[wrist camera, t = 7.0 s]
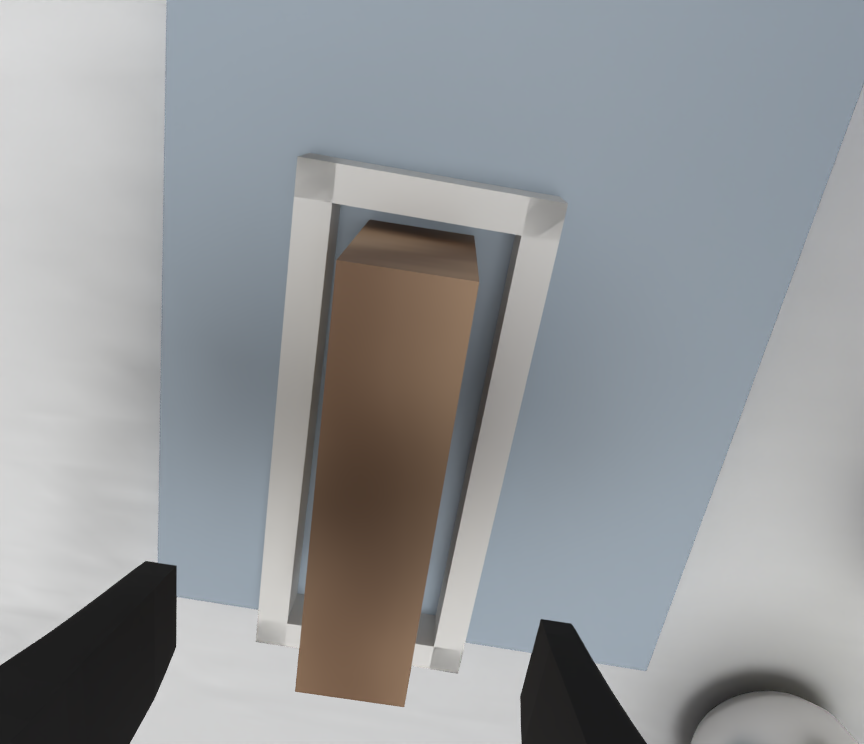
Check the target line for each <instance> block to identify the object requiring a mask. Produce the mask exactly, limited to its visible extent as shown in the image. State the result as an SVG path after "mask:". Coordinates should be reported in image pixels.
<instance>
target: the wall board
mask: <svg viewBox="0 0 864 744" xmlns="http://www.w3.org/2000/svg"><path fill="white" fill-rule="evenodd" d="M863 84H864V0H167V16H166V79H165V142H164V205H163V268H162V331H161V394H160V457H159V520H158V563H162V564H169V565H176V566H177V597H181V598H188V599H194V600H200V601H207V602H213V603H219V604H226V605H232V606H238V607H244V608H251V609H257V610H258V621H257V632H256V642H260V643H267V644H273V645H280V646H286V647H292V648H299V647H300V636H301V626H302V615H303V605H304V594H305V584H306V573H307V563H308V552H309V542H310V531H311V521H312V510H313V500H314V489H315V479H316V468H317V458H318V447H319V437H320V426H321V416H322V405H323V395H324V384H325V374H326V363H327V353H328V342H329V332H330V321H331V311H332V300H333V290H334V279H335V269H336V260H337V259H338V257H339V256H340V255H341V254H342V252H343V251H344V250H345V249H346V248H347V246H348V245H349V244H350V243H351V242H352V240H353V239H354V238H355V237H356V235H357V234H358V233H359V232H360V231H361V229H362V228H363V227H364V226H365V224H366V223H367V222H368V221H369V220H377V221H383V222H390V223H396V224H402V225H409V226H415V227H422V228H428V229H435V230H441V231H448V232H454V233H460V234H467V235H473V236H474V238H475V247H476V256H477V265H478V274H479V287H478V293H477V298H476V304H475V310H474V315H473V321H472V326H471V332H470V338H469V343H468V349H467V355H466V360H465V366H464V372H463V377H462V383H461V389H460V394H459V400H458V406H457V411H456V417H455V422H454V428H453V434H452V439H451V445H450V451H449V456H448V462H447V468H446V473H445V479H444V485H443V490H442V496H441V502H440V507H439V513H438V518H437V524H436V530H435V535H434V541H433V547H432V552H431V558H430V564H429V569H428V575H427V581H426V586H425V592H424V598H423V603H422V609H421V614H420V620H419V626H418V631H417V637H416V643H415V648H414V654H413V660H412V665H411V666H413V667H420V668H426V669H432V670H439V671H445V672H451V673H458V671H459V667H460V663H461V658H462V654H463V650H464V646H465V642H466V643H472V644H478V645H485V646H491V647H497V648H504V649H510V650H516V651H523V652H529V653H532V650H533V647H534V643H535V639H536V635H537V631H538V628H539V624H540V620H541V619H544V620H551V621H558V622H565V623H571V624H572V625H573V626H574V628H575V629H576V631H577V633H578V635H579V636H580V638H581V640H582V642H583V643H584V645H585V647H586V649H587V650H588V652H589V654H590V656H591V657H592V659H593V661H594V662H595V663H598V664H605V665H611V666H617V667H624V668H630V669H636V670H643V671H646V670H647V667H648V665H649V662H650V659H651V657H652V654H653V651H654V649H655V646H656V643H657V640H658V638H659V635H660V632H661V630H662V627H663V624H664V622H665V619H666V616H667V613H668V611H669V608H670V605H671V603H672V600H673V597H674V595H675V592H676V589H677V586H678V584H679V581H680V578H681V576H682V573H683V570H684V568H685V565H686V562H687V559H688V557H689V554H690V551H691V549H692V546H693V543H694V541H695V538H696V535H697V532H698V530H699V527H700V524H701V522H702V519H703V516H704V514H705V511H706V508H707V505H708V503H709V500H710V497H711V495H712V492H713V489H714V487H715V484H716V481H717V478H718V476H719V473H720V470H721V468H722V465H723V462H724V460H725V457H726V454H727V451H728V449H729V446H730V443H731V441H732V438H733V435H734V433H735V430H736V427H737V424H738V422H739V419H740V416H741V414H742V411H743V408H744V406H745V403H746V400H747V397H748V395H749V392H750V389H751V387H752V384H753V381H754V379H755V376H756V373H757V370H758V368H759V365H760V362H761V360H762V357H763V354H764V352H765V349H766V346H767V343H768V341H769V338H770V335H771V333H772V330H773V327H774V325H775V322H776V319H777V316H778V314H779V311H780V308H781V306H782V303H783V300H784V298H785V295H786V292H787V289H788V287H789V284H790V281H791V279H792V276H793V273H794V271H795V268H796V265H797V262H798V260H799V257H800V254H801V252H802V249H803V246H804V243H805V241H806V238H807V235H808V233H809V230H810V227H811V225H812V222H813V219H814V216H815V214H816V211H817V208H818V206H819V203H820V200H821V198H822V195H823V192H824V189H825V187H826V184H827V181H828V179H829V176H830V173H831V171H832V168H833V165H834V162H835V160H836V157H837V154H838V152H839V149H840V146H841V144H842V141H843V138H844V135H845V133H846V130H847V127H848V125H849V122H850V119H851V117H852V114H853V111H854V108H855V106H856V103H857V100H858V98H859V95H860V92H861V90H862V87H863Z"/></svg>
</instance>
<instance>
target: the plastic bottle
mask: <svg viewBox="0 0 864 744" xmlns="http://www.w3.org/2000/svg"><path fill="white" fill-rule="evenodd" d="M691 744H859V743H858V742H857V741H856V740H855V739H854V738H853V737H852V735H851V734H850V733H849V732H848V731H847V730H846V729H845V727H844V726H843V725H842V724H841V723H840V722H839V721H838V719H837V718H836V717H834V716H833V715H832V714H831V713H829V712H828V711H827V710H825V709H823V708H821V707H819V706H817V705H815V704H813V703H811V702H809V701H807V700H805V699H802V698H800V697H798V696H795V695H792V694H788V693H785V692H777V691H756V692H751V693H746V694H742V695H739V696H736V697H733V698H730V699H728V700H726V701H725V702H723V703H721V704H719V705H718V706H716V707H715V708H714V709H712V710H711V711H710V712H708V714H707V715H706V716H705V717H704V718H703V719H702V720H701V722H700V723H699V725H698V727H697V728H696V730H695V733H694V736H693V738H692V741H691Z"/></svg>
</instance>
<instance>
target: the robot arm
mask: <svg viewBox="0 0 864 744" xmlns="http://www.w3.org/2000/svg"><path fill="white" fill-rule="evenodd" d="M176 598H177V566H176V565H169V564H162V563H155V562H148V561H145V562H144V563H142V564H141V565H140V566H138V567H137V568H135V569H134V570H133V571H131V572H130V573H129V574H127V575H126V576H125V577H124V578H122V579H121V580H120V581H118V582H117V583H116V584H114V585H113V586H112V587H110V588H109V589H108V590H107V591H105V592H104V593H103V594H101V595H100V596H99V597H97V598H96V599H95V600H93V601H92V602H91V603H89V604H88V605H87V606H85V607H84V608H83V609H81V610H80V611H79V612H77V613H76V614H74V615H73V616H72V617H70V618H69V619H68V620H66V621H65V622H63V623H62V624H61V625H59V626H58V627H56V628H55V629H54V630H52V631H51V632H49V633H48V634H47V635H45V636H44V637H42V638H41V639H39V640H38V641H36V642H35V643H33V644H32V645H30V646H29V647H27V648H26V649H24V650H23V651H21V652H20V653H18V654H17V655H15V656H14V657H12V658H11V659H9V660H8V661H6V662H5V663H3V664H2V665H0V744H130V742H131V740H132V738H133V737H134V735H135V733H136V731H137V729H138V728H139V726H140V724H141V722H142V720H143V719H144V717H145V715H146V713H147V711H148V710H149V708H150V706H151V704H152V702H153V700H154V698H155V696H156V694H157V692H158V689H159V687H160V685H161V682H162V680H163V678H164V675H165V673H166V671H167V668H168V666H169V663H170V661H171V658H172V656H173V653H174V651H175V648H176ZM520 699H521V736H522V744H647V743H646V742H645V740H644V739H643V738H642V736H641V735H640V733H639V732H638V730H637V729H636V727H635V726H634V724H633V723H632V722H631V720H630V718H629V717H628V715H627V714H626V712H625V711H624V709H623V708H622V706H621V705H620V703H619V701H618V700H617V698H616V697H615V695H614V694H613V692H612V691H611V689H610V687H609V686H608V684H607V682H606V681H605V679H604V678H603V676H602V674H601V672H600V671H599V669H598V667H597V666H596V664H595V662H594V661H593V659H592V657H591V656H590V654H589V652H588V650H587V649H586V647H585V645H584V643H583V642H582V640H581V638H580V636H579V635H578V633H577V631H576V629H575V628H574V626H573V625H572V624H571V623H565V622H558V621H551V620H544V619H541V620H540V624H539V628H538V631H537V635H536V639H535V643H534V647H533V650H532V654H531V658H530V662H529V666H528V670H527V673H526V677H525V681H524V685H523V689H522V692H521V696H520Z"/></svg>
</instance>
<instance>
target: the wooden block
mask: <svg viewBox="0 0 864 744" xmlns="http://www.w3.org/2000/svg"><path fill="white" fill-rule="evenodd" d="M478 287H479V274H478V265H477V256H476V247H475V238H474V236H473V235H467V234H460V233H454V232H448V231H441V230H435V229H428V228H422V227H415V226H409V225H402V224H396V223H390V222H383V221H377V220H369V221H368V222H367V223H366V224H365V226H364V227H363V228H362V229H361V231H360V232H359V233H358V234H357V235H356V237H355V238H354V239H353V240H352V242H351V243H350V244H349V245H348V246H347V248H346V249H345V250H344V251H343V252H342V254H341V255H340V256H339V257H338V259H337V260H336V269H335V279H334V290H333V300H332V311H331V321H330V332H329V342H328V353H327V363H326V374H325V384H324V395H323V405H322V416H321V426H320V437H319V447H318V458H317V468H316V479H315V489H314V500H313V510H312V521H311V531H310V542H309V552H308V563H307V573H306V584H305V594H304V605H303V615H302V626H301V636H300V647H299V657H298V668H297V678H296V689H295V692H302V693H309V694H316V695H323V696H330V697H337V698H344V699H351V700H358V701H365V702H372V703H379V704H386V705H393V706H400V707H404V705H405V699H406V694H407V688H408V682H409V677H410V671H411V665H412V660H413V654H414V648H415V643H416V637H417V631H418V626H419V620H420V614H421V609H422V603H423V598H424V592H425V586H426V581H427V575H428V569H429V564H430V558H431V552H432V547H433V541H434V535H435V530H436V524H437V518H438V513H439V507H440V502H441V496H442V490H443V485H444V479H445V473H446V468H447V462H448V456H449V451H450V445H451V439H452V434H453V428H454V422H455V417H456V411H457V406H458V400H459V394H460V389H461V383H462V377H463V372H464V366H465V360H466V355H467V349H468V343H469V338H470V332H471V326H472V321H473V315H474V310H475V304H476V298H477V293H478Z"/></svg>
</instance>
